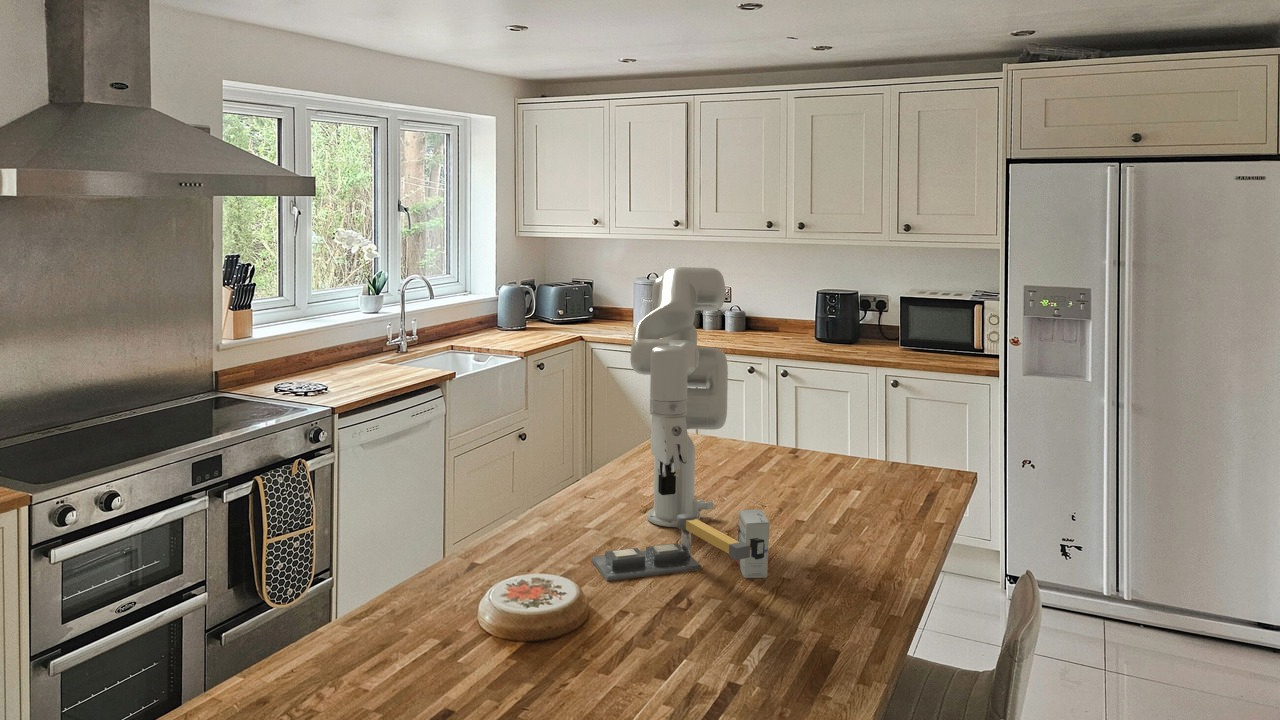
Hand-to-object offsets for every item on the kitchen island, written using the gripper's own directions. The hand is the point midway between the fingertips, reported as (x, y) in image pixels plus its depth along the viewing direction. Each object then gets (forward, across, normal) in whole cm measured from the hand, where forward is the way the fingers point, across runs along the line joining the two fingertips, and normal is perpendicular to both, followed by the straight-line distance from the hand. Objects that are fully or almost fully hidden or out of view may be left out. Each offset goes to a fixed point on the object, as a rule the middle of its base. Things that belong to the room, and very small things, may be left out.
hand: (666, 493), depth 200 cm
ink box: (+15, -9, -16) cm, 24 cm away
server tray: (+15, 0, +4) cm, 16 cm away
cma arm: (+8, -9, -6) cm, 13 cm away
